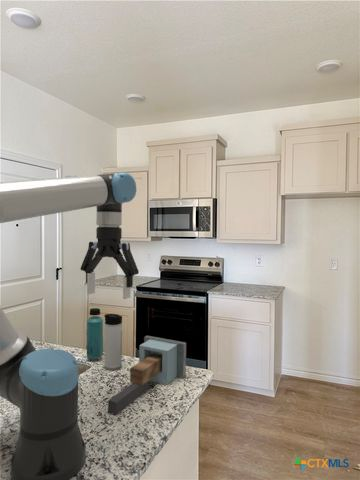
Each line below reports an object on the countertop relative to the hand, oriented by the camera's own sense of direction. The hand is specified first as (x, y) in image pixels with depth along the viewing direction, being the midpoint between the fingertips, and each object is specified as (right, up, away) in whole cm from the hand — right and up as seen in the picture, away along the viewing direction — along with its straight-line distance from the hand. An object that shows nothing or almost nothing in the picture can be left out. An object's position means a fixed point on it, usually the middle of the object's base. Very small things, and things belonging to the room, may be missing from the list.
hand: (108, 295), depth 102 cm
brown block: (+12, -27, +7) cm, 30 cm away
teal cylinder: (-12, -30, +28) cm, 43 cm away
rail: (+7, -31, -2) cm, 32 cm away
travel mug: (-3, -30, +21) cm, 37 cm away
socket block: (+14, -30, +13) cm, 36 cm away
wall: (+16, -31, +17) cm, 39 cm away
